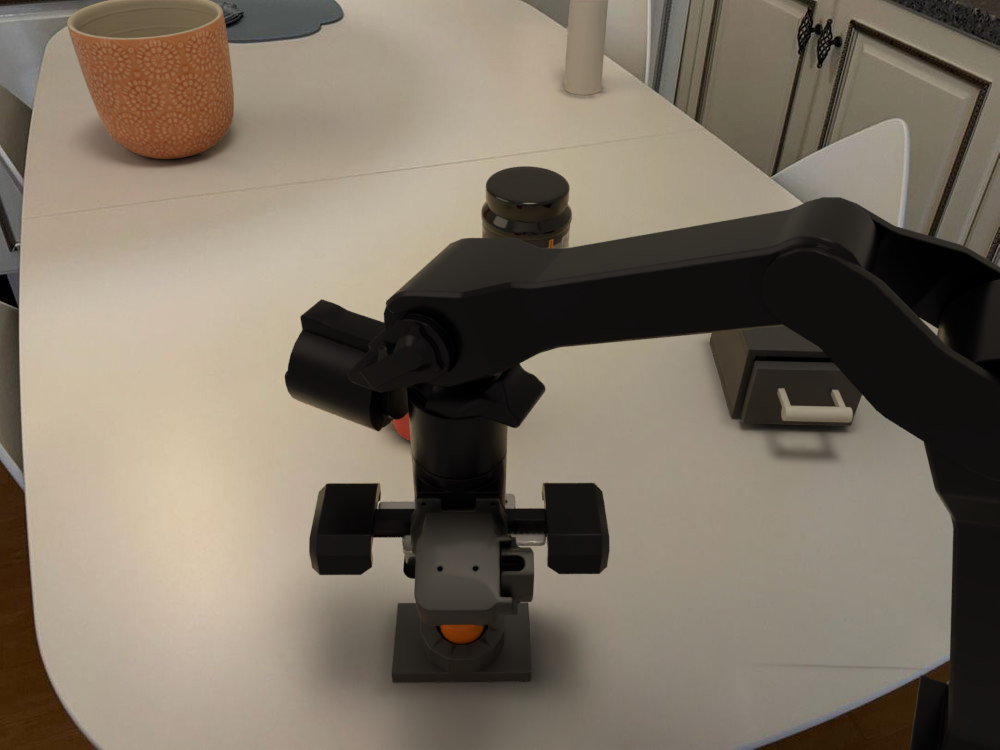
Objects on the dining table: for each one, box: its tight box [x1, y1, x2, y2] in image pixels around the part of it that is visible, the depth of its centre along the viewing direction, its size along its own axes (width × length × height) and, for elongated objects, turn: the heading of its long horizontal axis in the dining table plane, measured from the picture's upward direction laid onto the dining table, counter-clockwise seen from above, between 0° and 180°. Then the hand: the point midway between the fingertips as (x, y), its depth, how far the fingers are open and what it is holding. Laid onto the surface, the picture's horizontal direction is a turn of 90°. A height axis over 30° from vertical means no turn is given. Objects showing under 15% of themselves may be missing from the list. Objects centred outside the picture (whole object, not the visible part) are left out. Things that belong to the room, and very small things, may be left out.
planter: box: [66, 0, 235, 160], centre depth 126 cm, size 21×21×19 cm
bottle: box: [563, 0, 609, 96], centre depth 144 cm, size 7×7×28 cm
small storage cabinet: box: [709, 326, 829, 420], centre depth 86 cm, size 13×12×9 cm
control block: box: [391, 602, 533, 683], centre depth 63 cm, size 10×6×3 cm, turn 91°
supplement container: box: [480, 165, 573, 249], centre depth 100 cm, size 10×10×12 cm
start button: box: [440, 625, 484, 644], centre depth 62 cm, size 3×3×2 cm
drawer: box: [740, 356, 863, 427], centre depth 83 cm, size 15×10×7 cm
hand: (462, 604), depth 61 cm, fingers closed
